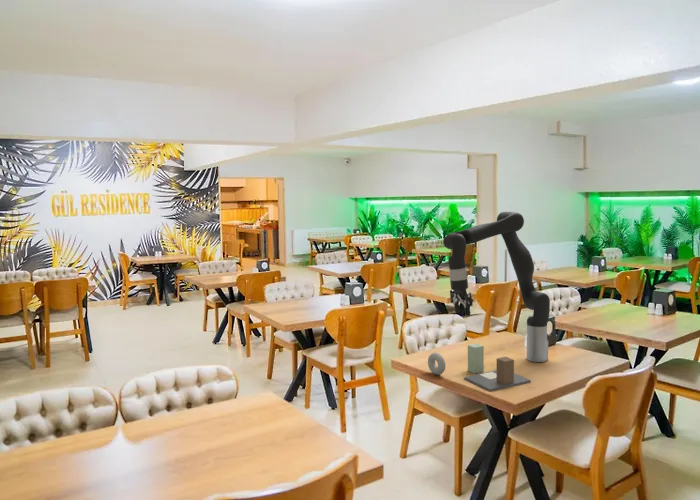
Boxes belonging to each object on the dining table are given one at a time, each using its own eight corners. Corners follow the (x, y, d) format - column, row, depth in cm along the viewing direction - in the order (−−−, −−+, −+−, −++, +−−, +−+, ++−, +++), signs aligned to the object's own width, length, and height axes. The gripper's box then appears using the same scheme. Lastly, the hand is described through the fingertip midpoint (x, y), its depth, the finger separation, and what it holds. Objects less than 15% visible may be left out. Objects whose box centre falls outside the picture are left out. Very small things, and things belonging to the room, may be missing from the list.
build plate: (503, 370, 244) (503, 347, 243) (530, 382, 228) (531, 357, 227) (464, 379, 234) (464, 354, 233) (490, 391, 219) (490, 365, 218)
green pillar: (476, 368, 248) (476, 343, 247) (483, 371, 243) (483, 346, 242) (467, 370, 246) (467, 345, 244) (474, 373, 241) (474, 347, 240)
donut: (447, 376, 238) (447, 354, 237) (441, 378, 236) (441, 356, 235) (431, 370, 246) (431, 349, 245) (426, 372, 244) (426, 351, 243)
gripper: (474, 278, 231) (478, 315, 232) (457, 275, 244) (461, 310, 246) (459, 281, 228) (464, 318, 230) (443, 278, 242) (447, 313, 243)
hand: (462, 314), depth 238 cm, fingers open, 8 cm apart
